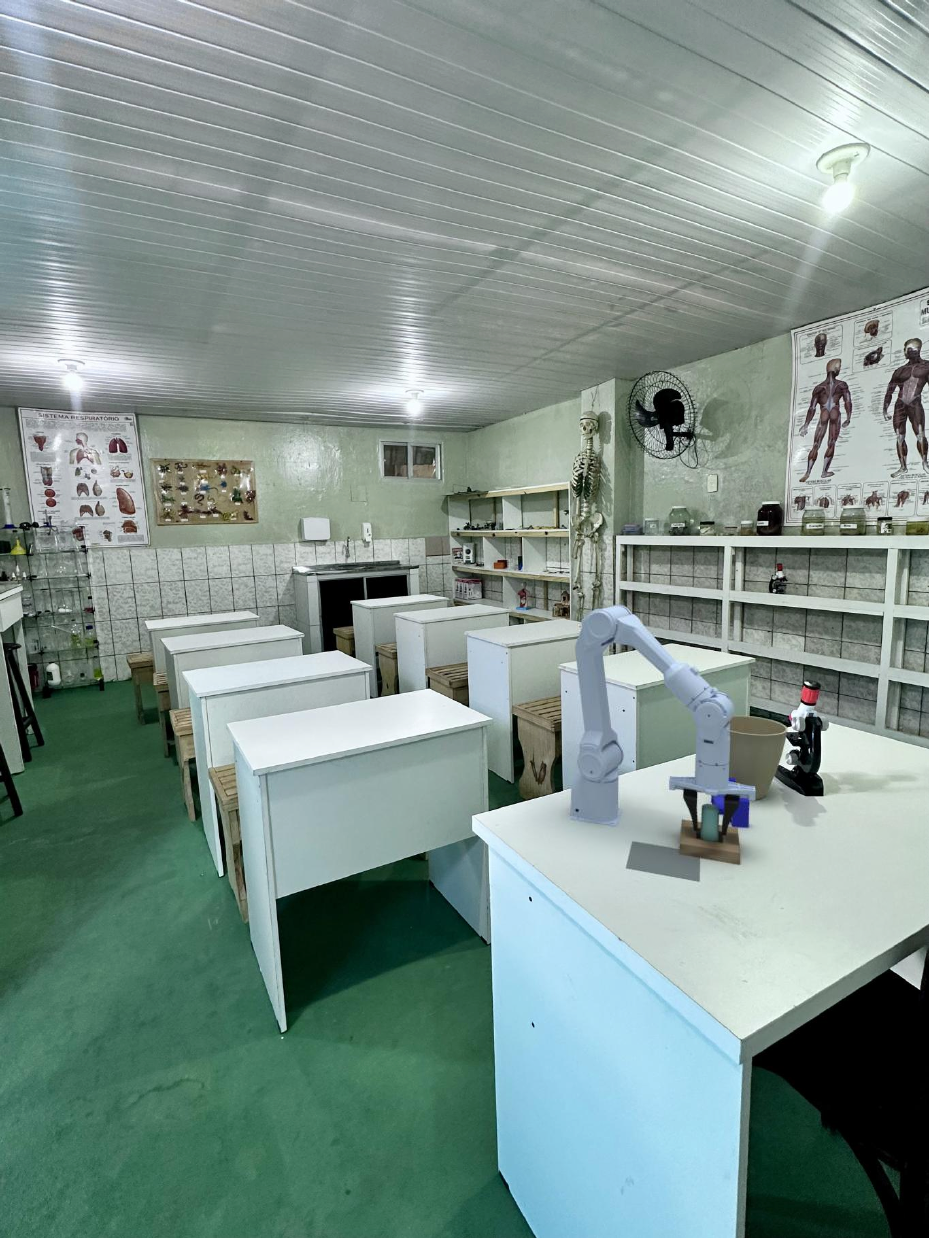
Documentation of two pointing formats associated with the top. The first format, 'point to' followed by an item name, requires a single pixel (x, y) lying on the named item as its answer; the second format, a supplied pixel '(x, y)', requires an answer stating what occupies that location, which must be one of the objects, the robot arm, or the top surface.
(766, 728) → the plant pot
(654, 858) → the mat
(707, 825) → the peg
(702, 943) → the top surface
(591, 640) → the robot arm
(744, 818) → the cable clip
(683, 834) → the socket block
